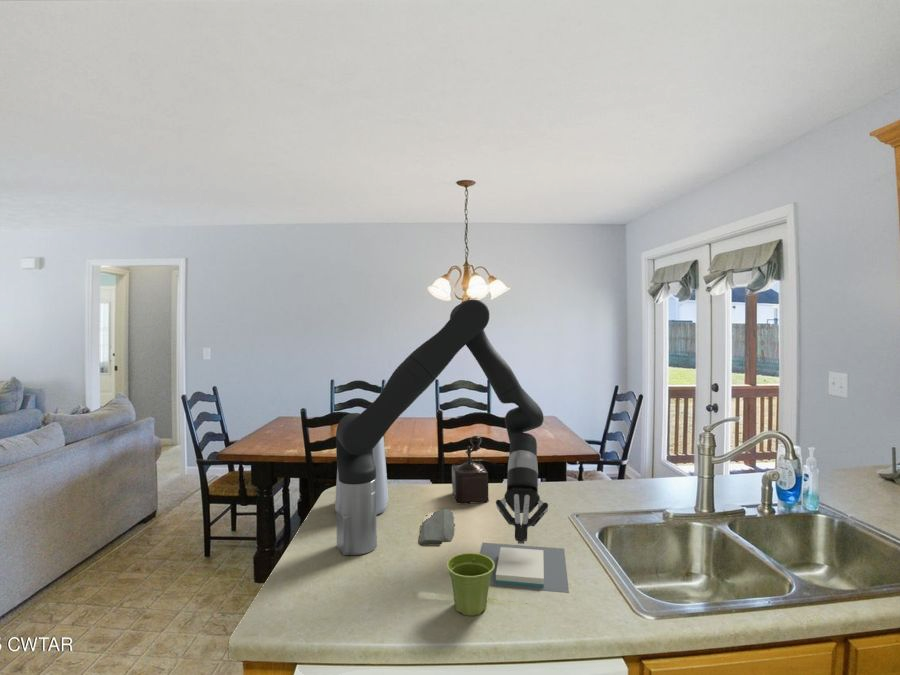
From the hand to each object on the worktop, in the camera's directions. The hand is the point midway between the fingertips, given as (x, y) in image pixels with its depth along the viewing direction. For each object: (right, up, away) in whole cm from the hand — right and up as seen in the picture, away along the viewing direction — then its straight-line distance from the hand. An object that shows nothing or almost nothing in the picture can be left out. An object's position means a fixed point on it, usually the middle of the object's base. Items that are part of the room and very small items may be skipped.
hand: (521, 542), depth 112 cm
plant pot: (-12, -7, -15) cm, 21 cm away
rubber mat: (0, -6, 0) cm, 6 cm away
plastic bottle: (-43, -5, +38) cm, 57 cm away
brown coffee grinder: (-10, -5, +49) cm, 50 cm away
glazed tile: (+1, -4, +4) cm, 6 cm away
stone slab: (-20, -6, +23) cm, 31 cm away
